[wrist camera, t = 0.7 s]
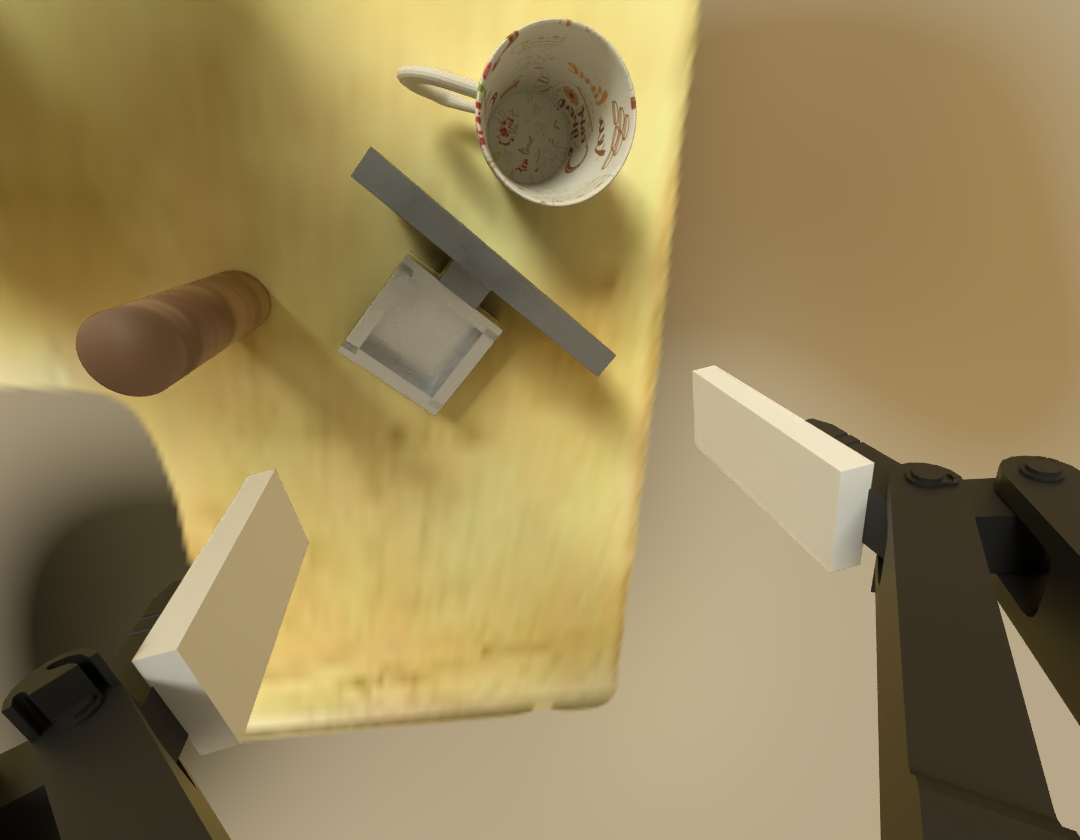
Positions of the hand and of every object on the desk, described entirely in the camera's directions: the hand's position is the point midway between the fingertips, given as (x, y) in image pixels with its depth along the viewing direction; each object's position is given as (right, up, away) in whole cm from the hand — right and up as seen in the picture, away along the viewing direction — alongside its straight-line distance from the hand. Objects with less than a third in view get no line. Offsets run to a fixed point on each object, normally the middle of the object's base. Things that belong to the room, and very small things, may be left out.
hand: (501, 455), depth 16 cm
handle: (-20, +9, +19) cm, 29 cm away
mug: (-2, +21, +19) cm, 28 cm away
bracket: (-6, +9, +22) cm, 25 cm away
